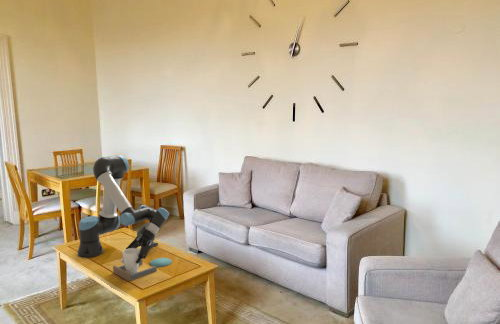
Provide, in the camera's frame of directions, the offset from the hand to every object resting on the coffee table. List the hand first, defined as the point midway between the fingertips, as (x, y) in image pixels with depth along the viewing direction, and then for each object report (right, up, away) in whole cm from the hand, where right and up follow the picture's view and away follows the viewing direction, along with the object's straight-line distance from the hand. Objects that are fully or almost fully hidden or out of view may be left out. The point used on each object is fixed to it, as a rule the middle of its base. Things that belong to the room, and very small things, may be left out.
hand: (127, 265), depth 213 cm
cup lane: (+4, -5, +5) cm, 8 cm away
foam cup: (+2, -5, +3) cm, 6 cm away
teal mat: (+15, -3, +17) cm, 23 cm away
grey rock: (+1, 0, +41) cm, 41 cm away
